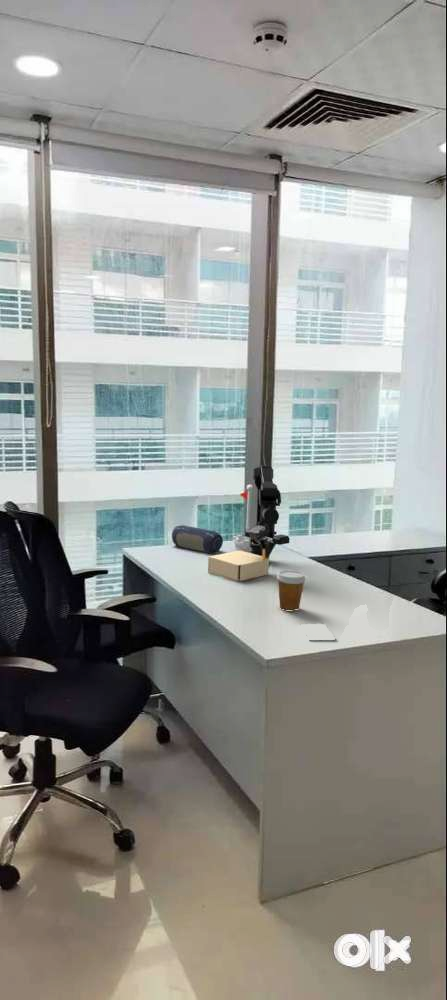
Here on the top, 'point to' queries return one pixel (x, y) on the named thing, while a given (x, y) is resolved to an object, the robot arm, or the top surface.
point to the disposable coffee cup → (290, 589)
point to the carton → (231, 564)
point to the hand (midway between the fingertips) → (265, 557)
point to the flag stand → (240, 541)
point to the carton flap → (254, 568)
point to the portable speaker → (197, 539)
